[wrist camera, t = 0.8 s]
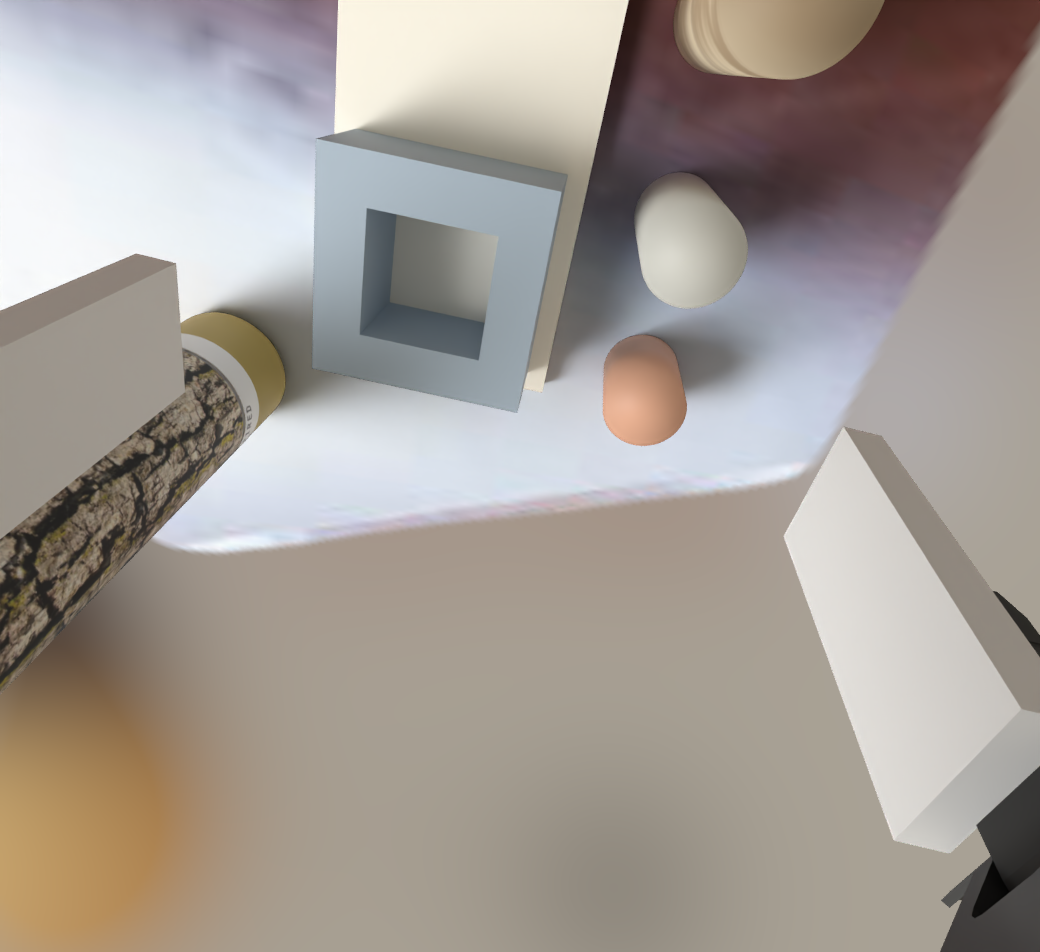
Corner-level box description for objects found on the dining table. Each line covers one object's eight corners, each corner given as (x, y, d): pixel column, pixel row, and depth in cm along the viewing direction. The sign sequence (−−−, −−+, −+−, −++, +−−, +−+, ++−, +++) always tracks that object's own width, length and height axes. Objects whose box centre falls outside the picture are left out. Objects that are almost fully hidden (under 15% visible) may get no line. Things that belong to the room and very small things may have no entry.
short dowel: (613, 327, 36) (614, 363, 31) (687, 343, 36) (698, 380, 31) (595, 394, 38) (594, 436, 34) (665, 409, 38) (672, 453, 34)
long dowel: (690, -51, 27) (754, -142, 15) (786, -30, 27) (925, -104, 15) (661, 63, 29) (697, 61, 17) (750, 82, 29) (848, 94, 17)
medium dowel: (646, 164, 31) (657, 191, 25) (730, 182, 31) (763, 214, 25) (624, 249, 34) (628, 296, 27) (702, 266, 34) (726, 317, 27)
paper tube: (302, 339, 38) (-82, 684, 17) (276, 434, 42) (-70, 818, 20) (186, 287, 37) (-374, 581, 16) (169, 388, 41) (-308, 738, 19)
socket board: (350, -63, 28) (291, -92, 23) (628, -2, 28) (633, -18, 23) (335, 338, 38) (291, 382, 32) (543, 383, 38) (533, 435, 33)
